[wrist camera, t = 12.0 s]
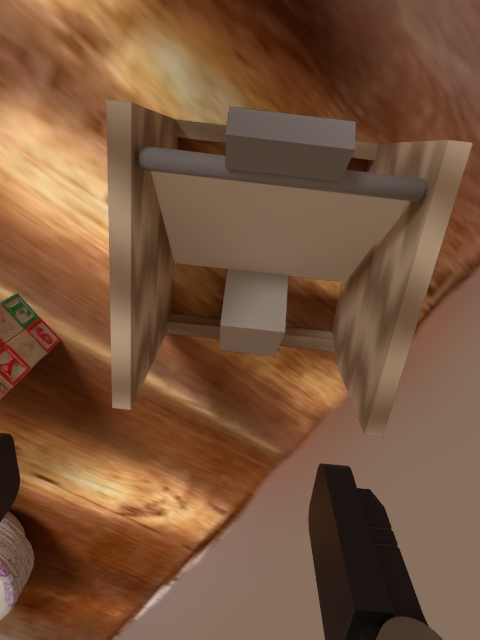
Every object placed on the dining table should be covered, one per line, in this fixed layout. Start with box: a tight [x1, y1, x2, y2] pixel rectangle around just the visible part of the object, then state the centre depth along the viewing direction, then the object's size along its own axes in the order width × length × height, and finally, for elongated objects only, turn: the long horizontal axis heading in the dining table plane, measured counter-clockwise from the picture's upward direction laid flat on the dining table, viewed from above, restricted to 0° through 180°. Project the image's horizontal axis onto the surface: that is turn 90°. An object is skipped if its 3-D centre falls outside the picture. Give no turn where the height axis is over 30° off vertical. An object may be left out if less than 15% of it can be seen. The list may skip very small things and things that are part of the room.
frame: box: [106, 99, 472, 437], centre depth 30 cm, size 18×18×14 cm
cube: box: [220, 269, 288, 356], centre depth 35 cm, size 5×5×6 cm
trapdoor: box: [139, 107, 426, 282], centre depth 26 cm, size 15×15×2 cm
